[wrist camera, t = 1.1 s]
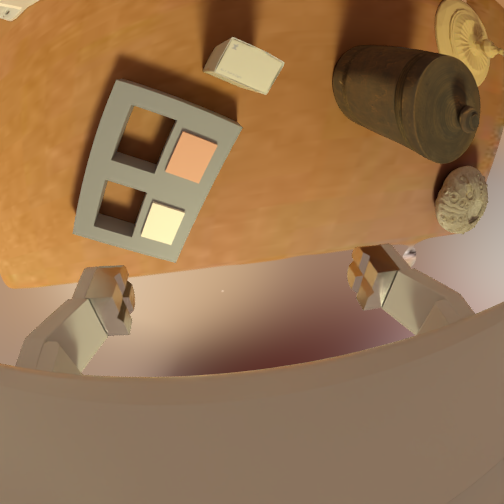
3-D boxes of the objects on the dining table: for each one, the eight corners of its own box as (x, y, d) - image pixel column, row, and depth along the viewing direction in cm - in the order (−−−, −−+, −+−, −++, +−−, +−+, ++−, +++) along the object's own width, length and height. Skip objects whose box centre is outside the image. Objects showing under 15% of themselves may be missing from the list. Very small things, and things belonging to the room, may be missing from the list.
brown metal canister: (412, 96, 39) (508, 137, 23) (361, 141, 44) (453, 201, 27) (374, 30, 31) (484, 40, 14) (314, 76, 35) (417, 101, 18)
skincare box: (201, 71, 32) (209, 72, 22) (216, 44, 30) (230, 35, 20) (242, 88, 35) (266, 97, 25) (256, 62, 33) (286, 62, 23)
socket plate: (79, 220, 40) (71, 235, 37) (122, 78, 29) (115, 80, 26) (175, 248, 48) (175, 264, 45) (237, 121, 38) (243, 128, 34)
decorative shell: (416, 204, 56) (444, 228, 48) (454, 145, 48) (485, 163, 40) (443, 229, 64) (466, 250, 57) (476, 180, 56) (501, 198, 49)
